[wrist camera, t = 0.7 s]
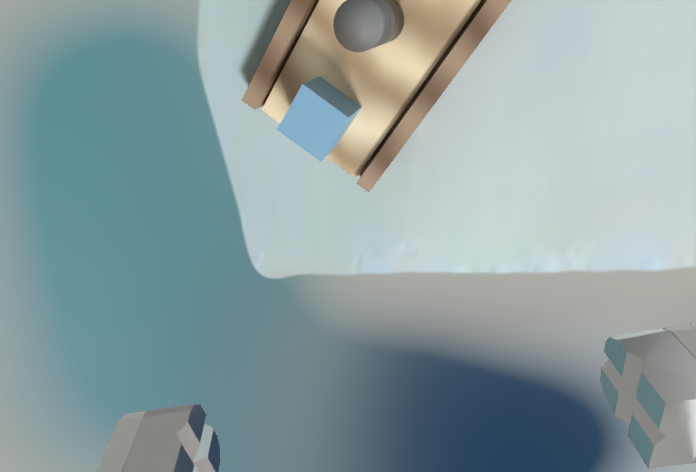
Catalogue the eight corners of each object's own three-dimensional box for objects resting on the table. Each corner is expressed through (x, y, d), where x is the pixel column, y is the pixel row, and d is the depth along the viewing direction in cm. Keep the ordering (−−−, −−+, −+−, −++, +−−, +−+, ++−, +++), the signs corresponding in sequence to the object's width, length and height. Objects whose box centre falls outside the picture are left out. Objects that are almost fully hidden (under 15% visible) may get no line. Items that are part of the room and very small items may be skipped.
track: (378, -151, 39) (371, -162, 36) (533, -32, 39) (536, -35, 37) (253, 95, 50) (241, 100, 48) (374, 183, 51) (368, 192, 49)
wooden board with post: (369, -88, 40) (331, -117, 30) (482, -2, 40) (481, -3, 31) (265, 108, 50) (212, 132, 40) (357, 175, 50) (327, 215, 41)
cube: (320, 76, 46) (302, 83, 42) (361, 106, 46) (348, 117, 42) (295, 118, 48) (276, 129, 44) (335, 147, 49) (320, 161, 44)
